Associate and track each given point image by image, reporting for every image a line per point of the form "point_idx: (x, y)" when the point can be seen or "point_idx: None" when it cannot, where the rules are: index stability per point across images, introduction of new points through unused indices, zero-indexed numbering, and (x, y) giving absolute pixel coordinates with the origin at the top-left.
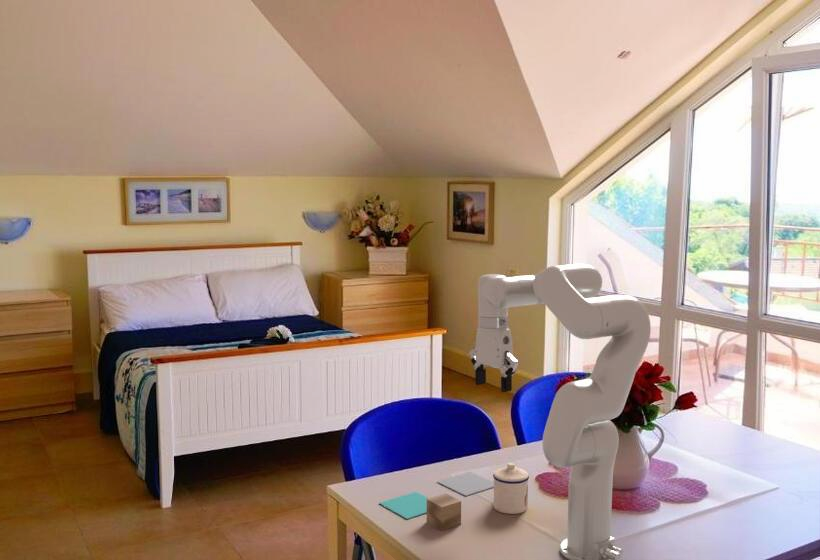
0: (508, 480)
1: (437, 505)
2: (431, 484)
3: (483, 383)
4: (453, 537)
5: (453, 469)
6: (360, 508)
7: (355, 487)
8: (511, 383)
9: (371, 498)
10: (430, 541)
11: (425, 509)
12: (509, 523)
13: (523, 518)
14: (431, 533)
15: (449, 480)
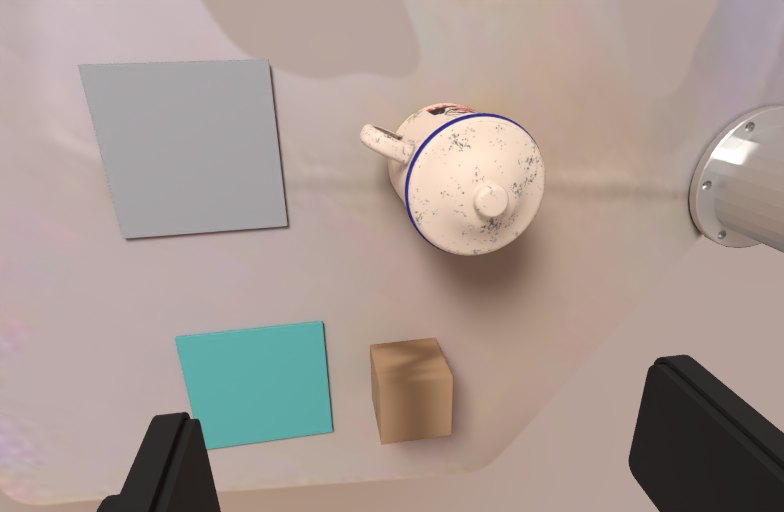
0: (515, 238)
1: (430, 436)
2: (129, 261)
3: (204, 448)
4: (478, 386)
5: (6, 100)
6: None
7: (44, 457)
8: (752, 411)
9: None
10: (459, 432)
11: (310, 373)
12: None
13: None
14: None
15: (132, 195)
